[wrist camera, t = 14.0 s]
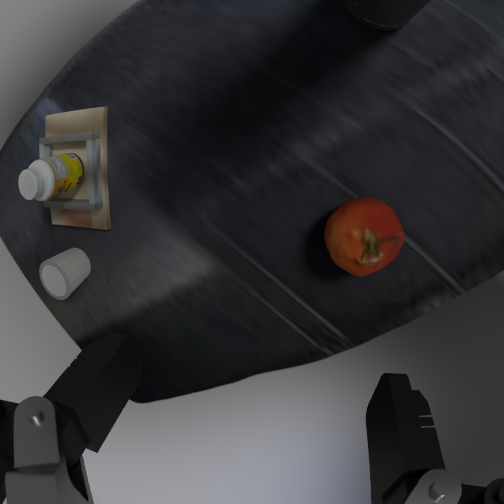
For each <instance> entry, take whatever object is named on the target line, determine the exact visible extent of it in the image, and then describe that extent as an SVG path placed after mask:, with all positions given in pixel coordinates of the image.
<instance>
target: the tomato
mask: <svg viewBox="0 0 504 504" xmlns="http://www.w3.org/2000/svg"><path fill="white" fill-rule="evenodd" d="M324 238H325V243H326V246H327V248H328V251H329V253H330V255H331V258H332V260H333V261H334V262H335V264H336V265H338V266H339V267H341V268H342V269H344V270H346V271H347V272H349V273H351V274H353V275H355V276H358V277H362V276H366V275H368V274H370V273H372V272H374V271H377V270H379V269H381V268H383V267H385V266H386V265H388V264H389V263H390V262H391V261H393V260H394V259H395V257H396V256H397V254H398V252H399V250H400V248H401V247H402V245H403V242H404V231H403V229H402V226H401V224H400V222H399V220H398V218H397V216H396V214H395V213H394V211H393V209H392V208H391V207H389V206H388V205H387V204H386V203H384V202H383V201H381V200H380V199H377V198H373V197H371V196H368V197H361V198H356V199H353V200H350V201H348V202H346V203H344V204H342V205H341V206H340V207H339V208H337V209H336V211H335V212H334V213H333V214H332V215H331V216H330V217H329V218H328V220H327V224H326V228H325V231H324Z"/></svg>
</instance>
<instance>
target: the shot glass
mask: <svg viewBox="0 0 504 504" xmlns="http://www.w3.org/2000/svg"><path fill="white" fill-rule="evenodd" d="M90 271H91V265H90V261H89V259H88V257H87V255H86V254H85V253H84V252H83V251H82V250H81V249H78V248H71V249H68V250H66V251H64V252H62V253H60V254H58V255H56V256H54V257H52V258H50V259H48V260H45V261H44V262H43V263H42V264H41V266H40V269H39V273H40V279H41V282H42V284H43V286H44V288H45V289H46V291H47V292H48V293H49V294H50V295H51V296H52V297H54V298H56V299H58V300H64V299H66V298H68V297H69V296H70V294H71V293H72V292H73V291H74V290H75V289H76V288H77V287H78V286H79V285H80V284H81V283H82V282H83V281H84V280H85V279H86V278H87V276H88V275H89V273H90Z"/></svg>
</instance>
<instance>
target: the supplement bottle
mask: <svg viewBox="0 0 504 504" xmlns="http://www.w3.org/2000/svg"><path fill="white" fill-rule="evenodd" d="M85 174H86V169H85V164H84V161H83V159H82V158H81V157H80V156H79V155H78V154H76V153H65V154H61V155H56V156H52V157H48V158H44V159H40V160H36V161H34V162H33V163H32V164H31V165H30V166H29V168H28V169H26V170H24V171H22V173H21V174H20V176H19V182H18V184H19V190H20V192H21V194H22V196H23V197H24V198H25V199H27V200H31V199H36V200H38V201H44V200H47V199H50V198H52V197H54V196H57V195H59V194H62V193H65V192H67V191H70V190H72V189H75V188H77V187H79V186H80V185H81V184H82V182H83V181H84V178H85Z"/></svg>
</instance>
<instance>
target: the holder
mask: <svg viewBox="0 0 504 504" xmlns="http://www.w3.org/2000/svg"><path fill="white" fill-rule="evenodd" d="M39 147H40V159H44V158H48V157H52V156H56V155H61V154H65V153H76V154H78V155H79V156H80V157H81V158H82V159H83V161H84V164H85V169H86V174H85V178H84V181H83V182H82V184H81V185H80V186H79V187H77V188H75V189H72V190H70V191H67V192H65V193H62V194H59V195H57V196H54V197H52V198H50V199H47V200H44V201H43V203H44V207H49V208H50V210H51V218H52V224H57V225H67V226H76V227H85V228H95V229H104V230H108V229H110V228H111V222H110V209H109V193H108V171H107V107H99V108H91V109H83V110H77V111H70V112H64V113H58V114H52V115H47V116H46V137H44V138H39Z"/></svg>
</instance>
